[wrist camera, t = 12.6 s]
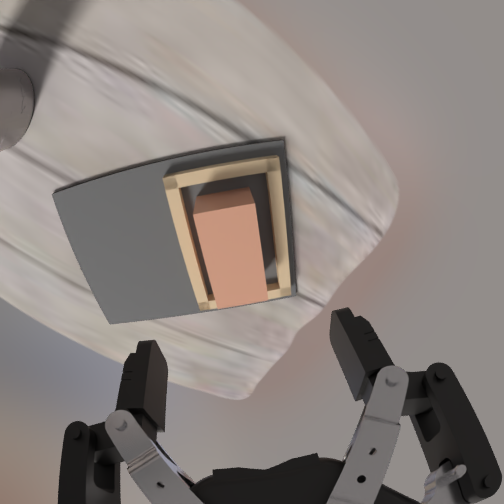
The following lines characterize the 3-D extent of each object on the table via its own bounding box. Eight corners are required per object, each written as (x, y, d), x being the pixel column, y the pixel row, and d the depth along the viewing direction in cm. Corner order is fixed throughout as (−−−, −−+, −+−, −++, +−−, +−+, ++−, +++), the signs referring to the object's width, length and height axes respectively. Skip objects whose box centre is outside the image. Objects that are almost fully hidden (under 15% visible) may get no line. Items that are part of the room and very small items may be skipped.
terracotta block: (196, 196, 26) (192, 214, 22) (248, 187, 26) (255, 203, 22) (216, 282, 31) (217, 309, 27) (261, 274, 31) (268, 300, 28)
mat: (110, 322, 33) (107, 330, 32) (53, 193, 24) (46, 198, 23) (295, 293, 34) (298, 302, 33) (282, 139, 25) (286, 142, 23)
